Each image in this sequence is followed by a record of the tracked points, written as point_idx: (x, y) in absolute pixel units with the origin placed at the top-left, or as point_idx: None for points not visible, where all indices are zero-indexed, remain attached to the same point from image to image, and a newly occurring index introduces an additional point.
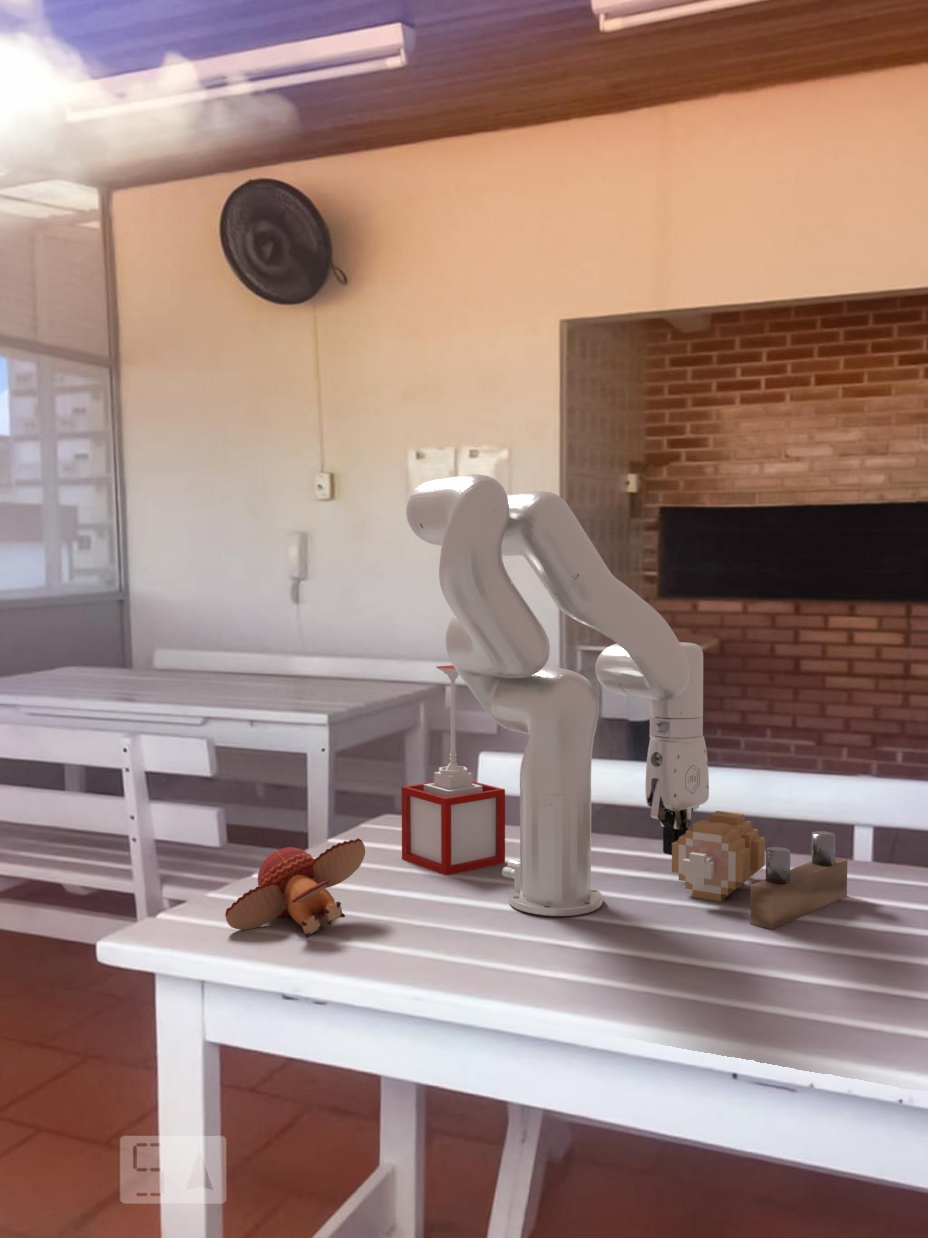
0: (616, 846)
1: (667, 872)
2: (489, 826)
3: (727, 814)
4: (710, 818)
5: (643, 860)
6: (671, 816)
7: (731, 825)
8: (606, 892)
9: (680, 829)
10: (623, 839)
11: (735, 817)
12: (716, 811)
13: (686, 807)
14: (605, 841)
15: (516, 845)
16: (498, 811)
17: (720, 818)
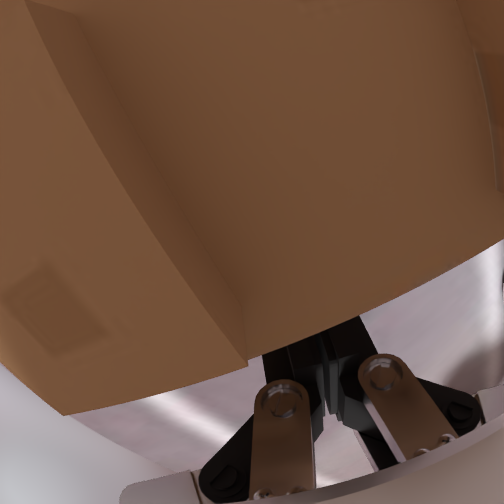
0: (202, 447)
1: None
2: None
3: (16, 276)
4: (240, 329)
5: (221, 391)
6: (455, 411)
7: (149, 32)
8: (484, 250)
9: (357, 359)
10: (162, 459)
11: (15, 53)
12: (78, 408)
13: (469, 448)
14: (199, 462)
15: (331, 468)
16: None
17: (172, 235)
